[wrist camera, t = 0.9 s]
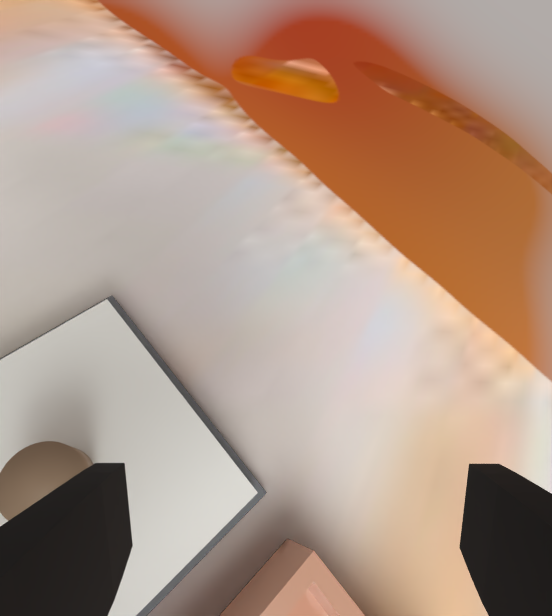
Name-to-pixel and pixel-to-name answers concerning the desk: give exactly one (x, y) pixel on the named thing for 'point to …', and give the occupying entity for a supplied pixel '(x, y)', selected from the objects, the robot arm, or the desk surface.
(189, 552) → the lid
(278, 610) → the dish
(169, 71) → the desk surface
